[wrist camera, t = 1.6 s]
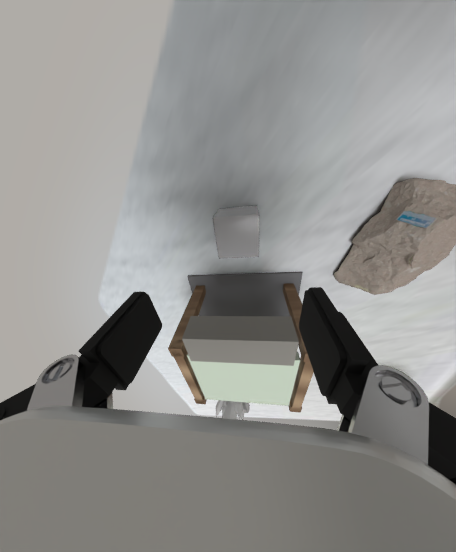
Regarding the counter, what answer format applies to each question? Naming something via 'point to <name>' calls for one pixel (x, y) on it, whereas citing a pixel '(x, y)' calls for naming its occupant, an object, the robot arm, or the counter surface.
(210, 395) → the trapdoor
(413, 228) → the concrete fragment
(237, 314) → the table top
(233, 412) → the crystal
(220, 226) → the stone block
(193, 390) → the frame
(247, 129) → the counter surface
